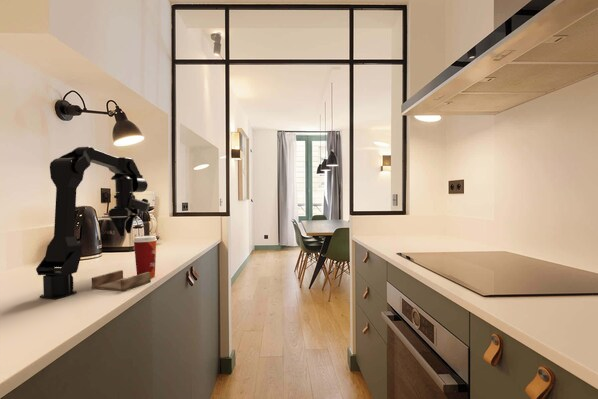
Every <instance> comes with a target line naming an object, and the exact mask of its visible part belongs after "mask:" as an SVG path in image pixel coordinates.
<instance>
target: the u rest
mask: <svg viewBox="0 0 598 399" xmlns="http://www.w3.org/2000/svg"><path fill="white" fill-rule="evenodd" d="M151 279H152V278H150V272H145V273H142V274H139V275H137V274H136V275H133V276H130V277H124V270H122V269H121V270H120V269H119V270H116V271H113V272H108V273H105V274H101V275H97V276H94V277H91V289H94V290H95V289H97V290H106V291H107V290H109V291H119V292H120V291H121V292H126V291H129V290H131V289H134V288H137V287H140V286H143V285H145V284H148V283H151Z"/></svg>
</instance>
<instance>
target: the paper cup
mask: <svg viewBox="0 0 598 399" xmlns="http://www.w3.org/2000/svg"><path fill="white" fill-rule="evenodd" d="M157 241H158V239H157V236H156V235H141V236H135V237H134V238H133V241H132V242H133V246H134V257H135V270H136V275H139V274H142V273H145V272H150V279H153V278H155V276H156V261H157V260H156V258H157V256H156V255H157Z"/></svg>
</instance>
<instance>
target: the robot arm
mask: <svg viewBox="0 0 598 399" xmlns="http://www.w3.org/2000/svg"><path fill="white" fill-rule="evenodd" d="M91 164H96V165H97V166H102V167H105V168H107V169H108V170H109V172H111V173H112V174H114V175H112V176H111V177H110V179H111V180H112V181H114V182H115V184H114V185H115V186H114V187H115V195H113V197H114V198H113V199H115V206H113V208H112V207H111V208H110V209H109V210H108V212H107V214H108V217H109V219H110V220H111V221H112V222H111V223H113V225H114V227H115V229H116V231H117V232H118V234H119V236H120V237H124V236H125V232H126V234H131V232H132V228H133V224H134V220H135V219H136V217H138V216H139V214H140V211H141V212H145V213H146V212H149V209H150V206H151V203H150V202H149V199H147V198H142V199H141V200H140V199H137V198H136V195H135V194H134V193H143V192H146V191H147V189H148V186H149V185H148V182H147V180H146V178H144V177H143V175H142V174H141V173H140V171H139V169H138V167H137V164H136V162H135V160H134V159H133V158H130V157H119V156H114V155H111V154H109V153H106V152H104V151H101V150H98V149H95V148H93V147H91V146H78V147H76V148H74V149H73V150H72V151H70V152H68V153H66V154H63V155H60V156H59V157H57V158H54V159H53V160H52V161H50V164H49V174H50V179H51V181H52V183H53V185H54V186H55V190H56V191H55V207H54V208H55V211H54V227H53V228H54V229H53V231H54V232H53V237H52V239H51V240H50V242H49V243H48V244H47V246H46V251H45V255H44V257H43V259H42V260H41V261H40V263H39V264H38V265H37V267H36V268H35V271H36V273H37V275H38V276H42V280H43V281H42V284H43V294H41V295H39V298H41V299H53V300H56V299H61V298H64V297H67V296H71V295H73V294H77V290H74V276H73V274H75V273H77V272H78V271H79V270H78V269H79V265H80V261H81V257H83V251H82V250H83V243H82V241H78V240H77V239H76V237H75V226H76V225H75V224H76V207H77V206H76V204H77V189H78V187H79V186H80V184H81V182H82V181H83V179H84V175H85V171H86V170H88V168H89V167H90V166H91Z"/></svg>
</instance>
